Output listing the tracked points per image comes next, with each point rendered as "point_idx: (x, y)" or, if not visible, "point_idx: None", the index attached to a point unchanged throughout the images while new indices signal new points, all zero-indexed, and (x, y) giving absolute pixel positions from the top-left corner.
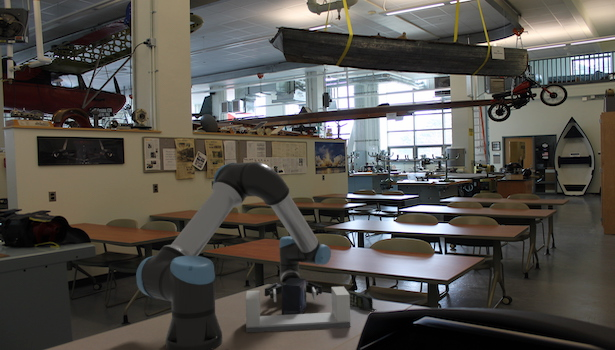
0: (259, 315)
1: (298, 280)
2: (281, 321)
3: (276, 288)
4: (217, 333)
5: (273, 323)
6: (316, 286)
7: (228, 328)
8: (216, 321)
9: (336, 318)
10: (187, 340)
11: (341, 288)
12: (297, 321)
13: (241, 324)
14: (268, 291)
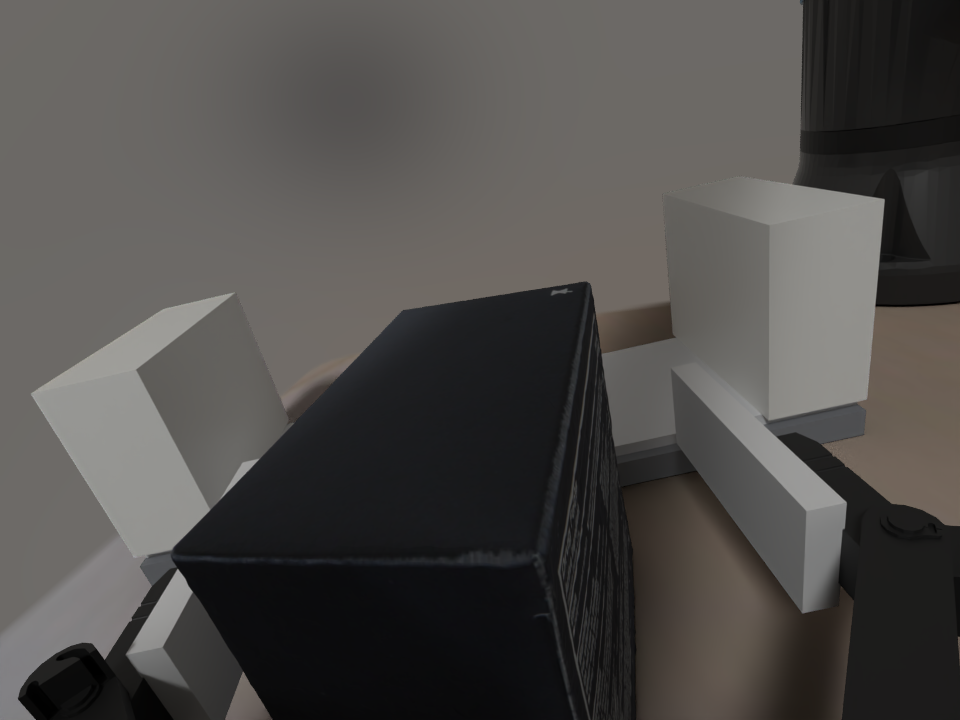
0: (670, 282)
1: (367, 407)
2: None
3: (853, 607)
4: None
5: (613, 361)
6: (69, 672)
7: (898, 356)
8: None
9: (280, 418)
10: None
11: (100, 359)
12: None
13: (868, 401)
14: (952, 538)
